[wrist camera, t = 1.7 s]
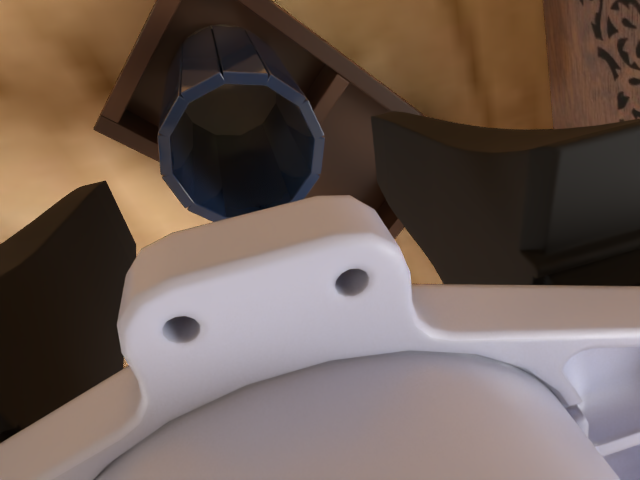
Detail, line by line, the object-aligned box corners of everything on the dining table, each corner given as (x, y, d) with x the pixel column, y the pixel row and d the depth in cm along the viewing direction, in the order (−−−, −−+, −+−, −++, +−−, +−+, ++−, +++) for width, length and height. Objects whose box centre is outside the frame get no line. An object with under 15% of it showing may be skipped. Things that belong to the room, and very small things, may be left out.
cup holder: (358, 241, 28) (372, 266, 26) (102, 110, 21) (92, 130, 19) (446, 131, 25) (469, 149, 23) (187, -63, 18) (187, -62, 16)
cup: (148, 102, 20) (129, 184, 14) (203, -3, 19) (211, 35, 12) (246, 156, 23) (269, 247, 16) (303, 67, 21) (354, 129, 15)
